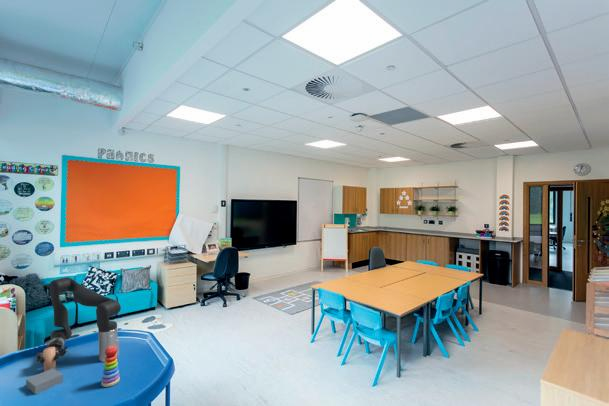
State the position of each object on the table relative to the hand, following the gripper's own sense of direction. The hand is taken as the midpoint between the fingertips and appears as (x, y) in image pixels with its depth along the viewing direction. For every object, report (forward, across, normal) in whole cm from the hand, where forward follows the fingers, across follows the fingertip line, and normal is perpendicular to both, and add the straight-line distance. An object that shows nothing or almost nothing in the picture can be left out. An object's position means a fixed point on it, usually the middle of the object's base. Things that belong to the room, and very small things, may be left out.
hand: (48, 360), depth 161 cm
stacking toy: (+27, +29, +7) cm, 40 cm away
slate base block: (+11, 0, +7) cm, 13 cm away
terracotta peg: (-3, 0, +7) cm, 7 cm away
